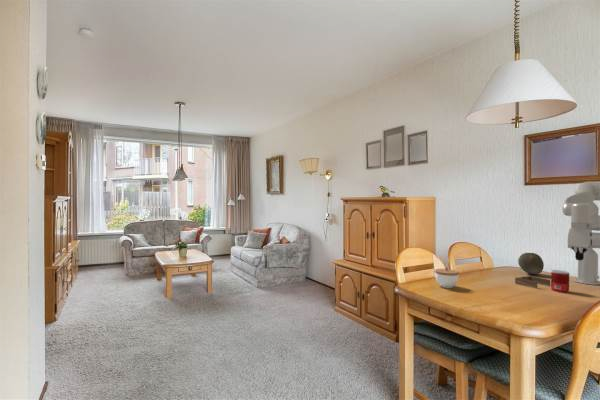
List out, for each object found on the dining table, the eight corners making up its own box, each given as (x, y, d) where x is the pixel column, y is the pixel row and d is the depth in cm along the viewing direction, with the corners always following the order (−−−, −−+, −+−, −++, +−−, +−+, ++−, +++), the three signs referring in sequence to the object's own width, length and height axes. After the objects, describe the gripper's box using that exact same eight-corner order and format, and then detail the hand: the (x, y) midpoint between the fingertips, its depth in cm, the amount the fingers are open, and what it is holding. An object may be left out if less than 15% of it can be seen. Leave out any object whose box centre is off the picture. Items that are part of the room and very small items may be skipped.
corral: (529, 281, 208) (529, 275, 208) (550, 285, 197) (550, 280, 197) (515, 283, 202) (515, 277, 202) (536, 288, 191) (536, 282, 191)
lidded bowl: (451, 290, 184) (452, 270, 184) (430, 285, 194) (430, 267, 194) (462, 287, 192) (462, 268, 192) (441, 282, 202) (441, 264, 202)
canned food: (572, 293, 182) (572, 273, 182) (555, 292, 184) (556, 272, 184) (563, 289, 190) (564, 270, 190) (548, 288, 191) (548, 269, 191)
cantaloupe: (538, 273, 233) (538, 251, 233) (546, 277, 219) (547, 255, 219) (515, 271, 237) (515, 250, 237) (522, 275, 223) (522, 253, 223)
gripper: (600, 227, 173) (600, 262, 173) (567, 225, 187) (567, 257, 187) (593, 227, 170) (592, 263, 170) (560, 225, 184) (559, 258, 184)
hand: (579, 260), depth 178 cm, fingers closed
